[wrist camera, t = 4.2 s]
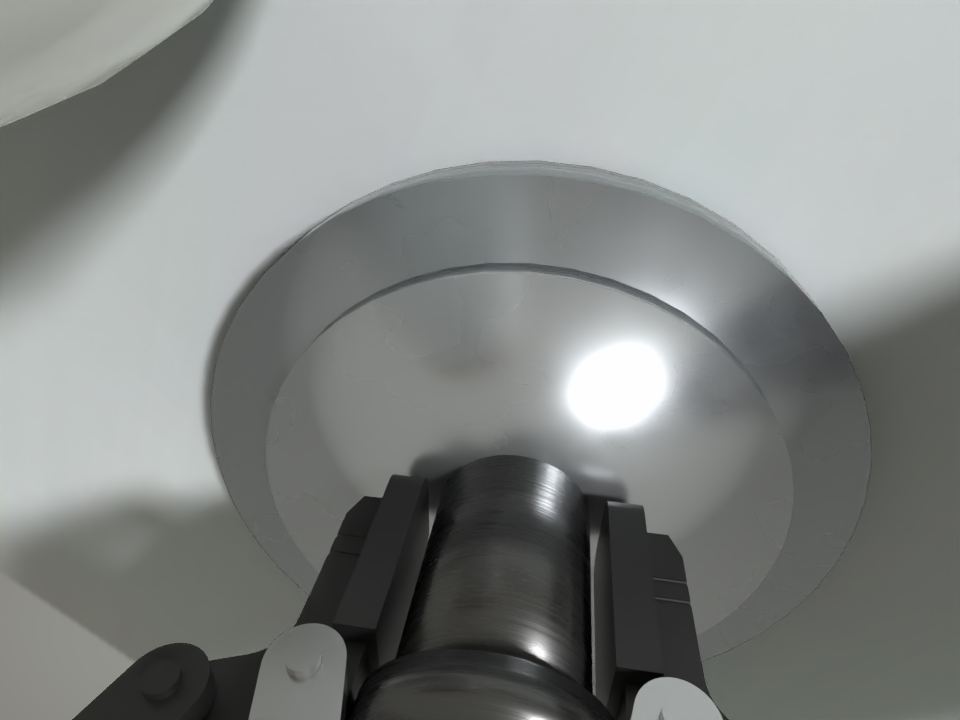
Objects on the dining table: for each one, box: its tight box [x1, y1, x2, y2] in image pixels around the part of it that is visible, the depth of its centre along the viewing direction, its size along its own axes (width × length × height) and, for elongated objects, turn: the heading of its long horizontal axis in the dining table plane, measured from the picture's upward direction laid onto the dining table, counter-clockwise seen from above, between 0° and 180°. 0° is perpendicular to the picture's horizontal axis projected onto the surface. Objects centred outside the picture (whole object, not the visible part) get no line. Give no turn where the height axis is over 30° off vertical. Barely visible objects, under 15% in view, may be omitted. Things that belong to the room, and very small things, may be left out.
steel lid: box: [211, 161, 871, 720], centre depth 11 cm, size 14×14×7 cm
